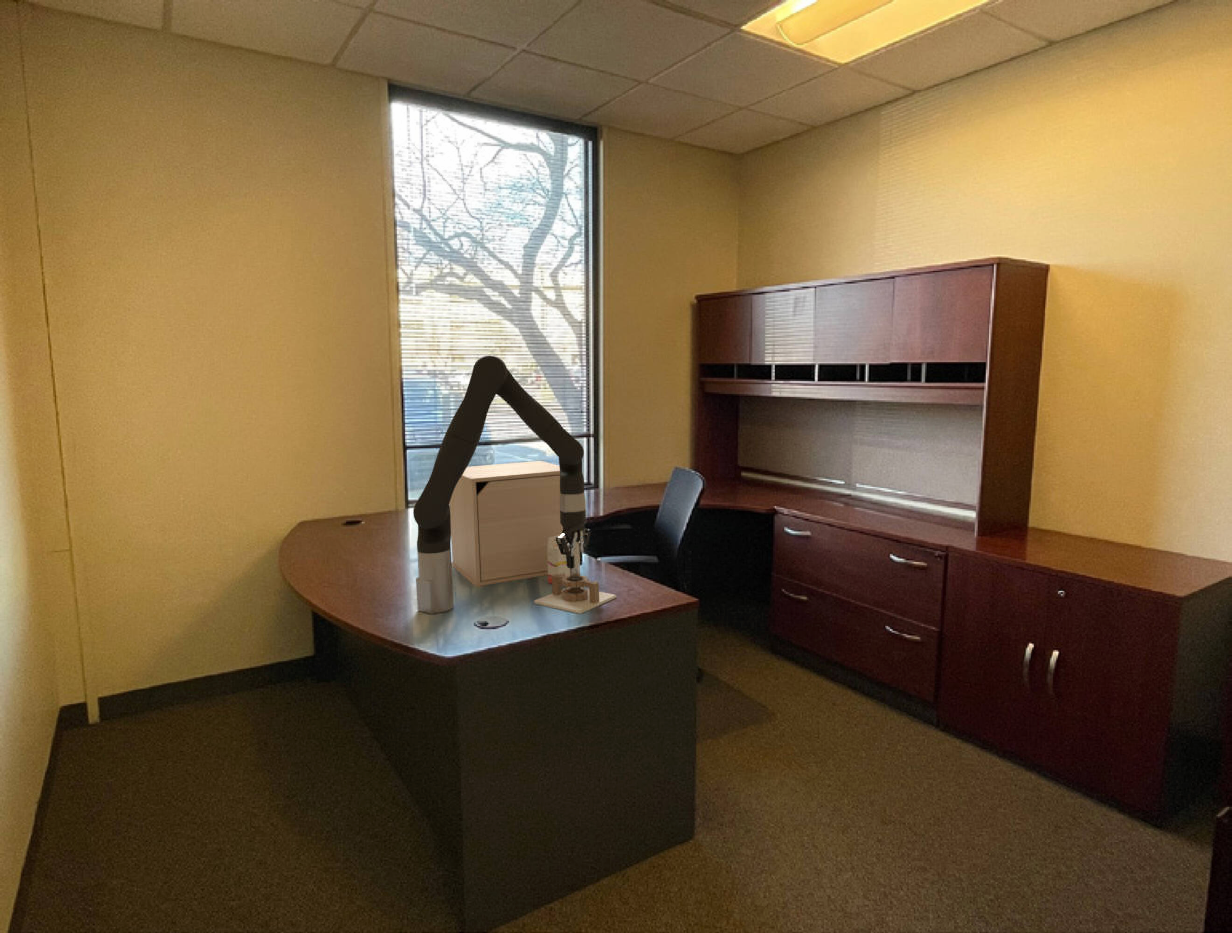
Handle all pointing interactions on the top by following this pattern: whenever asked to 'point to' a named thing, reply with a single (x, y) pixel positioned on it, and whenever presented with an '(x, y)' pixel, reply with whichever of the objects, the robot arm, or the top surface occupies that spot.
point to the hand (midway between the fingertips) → (574, 566)
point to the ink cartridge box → (556, 560)
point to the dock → (573, 605)
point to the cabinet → (504, 521)
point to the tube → (576, 570)
